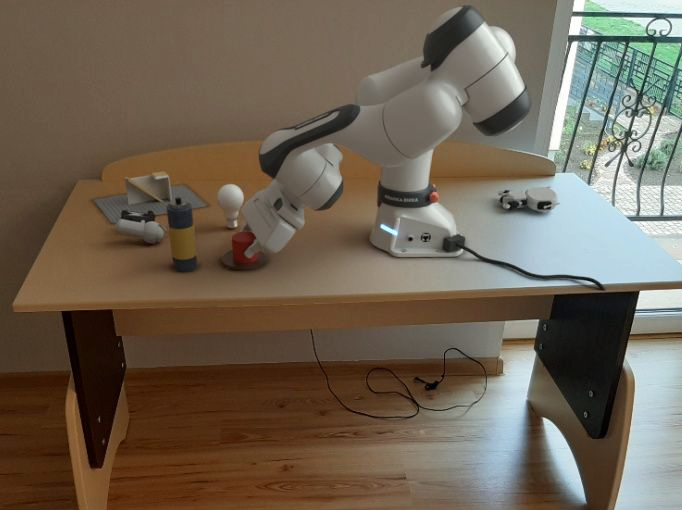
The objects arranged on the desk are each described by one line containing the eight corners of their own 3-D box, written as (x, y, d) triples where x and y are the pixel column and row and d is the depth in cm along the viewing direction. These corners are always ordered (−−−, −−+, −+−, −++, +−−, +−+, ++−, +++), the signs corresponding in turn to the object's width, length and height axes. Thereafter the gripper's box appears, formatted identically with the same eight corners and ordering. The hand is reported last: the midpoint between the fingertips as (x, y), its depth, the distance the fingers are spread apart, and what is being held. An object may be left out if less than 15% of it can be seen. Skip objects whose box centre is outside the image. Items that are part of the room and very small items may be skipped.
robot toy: (502, 218, 181) (560, 217, 180) (503, 202, 178) (562, 200, 177) (495, 201, 191) (550, 199, 190) (497, 185, 188) (552, 183, 187)
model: (172, 201, 182) (168, 173, 178) (132, 208, 178) (128, 179, 173) (167, 197, 185) (164, 169, 180) (128, 204, 180) (124, 175, 176)
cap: (260, 252, 156) (259, 232, 153) (255, 264, 151) (254, 242, 149) (236, 251, 156) (234, 230, 154) (230, 262, 152) (229, 241, 149)
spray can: (200, 262, 153) (194, 194, 144) (193, 273, 149) (186, 203, 140) (177, 260, 154) (169, 192, 145) (169, 271, 149) (161, 201, 141)
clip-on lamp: (195, 238, 171) (120, 223, 167) (199, 213, 168) (123, 198, 164) (191, 254, 160) (111, 239, 157) (195, 229, 157) (114, 212, 154)
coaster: (270, 252, 158) (270, 249, 158) (261, 272, 150) (261, 269, 149) (228, 249, 159) (227, 246, 158) (216, 269, 151) (216, 265, 150)
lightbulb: (214, 229, 168) (210, 186, 162) (229, 221, 173) (226, 178, 166) (235, 235, 165) (233, 191, 159) (250, 226, 170) (248, 183, 164)
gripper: (259, 175, 156) (221, 222, 158) (285, 210, 140) (242, 261, 143) (279, 191, 159) (241, 236, 162) (307, 227, 144) (264, 276, 147)
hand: (242, 248), depth 152 cm, fingers closed on cap, 5 cm apart
